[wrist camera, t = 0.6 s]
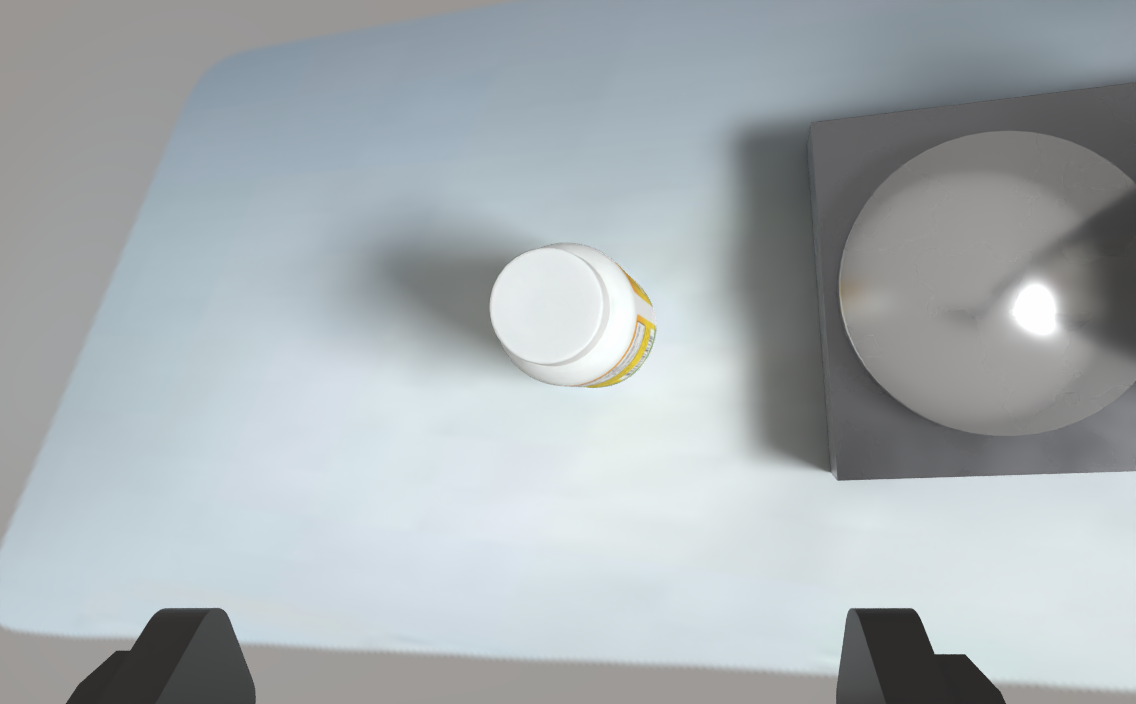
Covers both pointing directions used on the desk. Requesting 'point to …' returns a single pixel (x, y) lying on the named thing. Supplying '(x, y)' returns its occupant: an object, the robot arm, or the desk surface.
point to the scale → (979, 286)
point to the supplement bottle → (572, 317)
